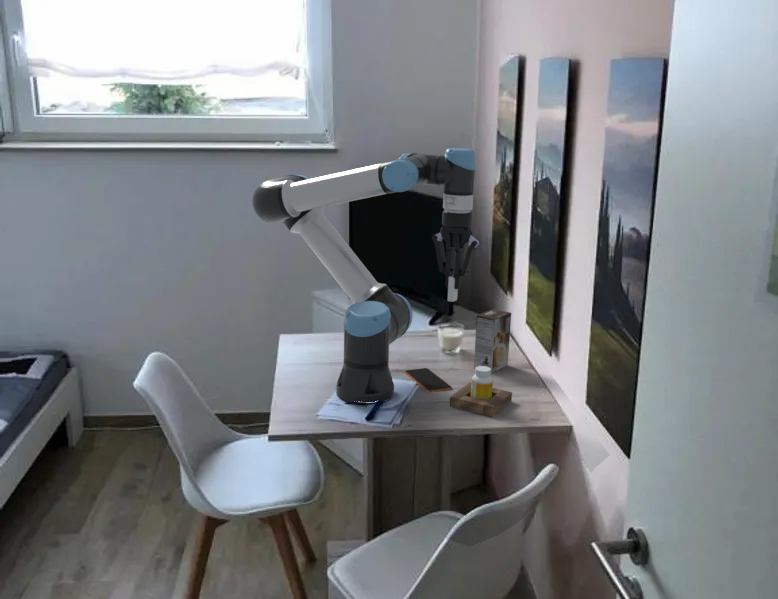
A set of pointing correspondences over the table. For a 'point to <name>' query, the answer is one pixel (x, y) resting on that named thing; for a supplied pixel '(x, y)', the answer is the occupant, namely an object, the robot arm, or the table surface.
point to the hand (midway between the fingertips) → (452, 300)
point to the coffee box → (492, 339)
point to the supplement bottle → (482, 383)
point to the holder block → (480, 401)
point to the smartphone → (428, 380)
